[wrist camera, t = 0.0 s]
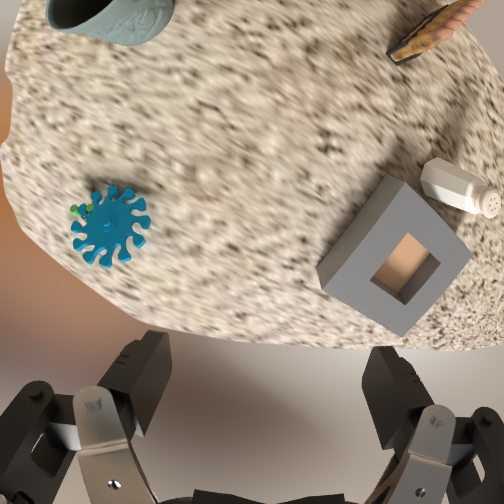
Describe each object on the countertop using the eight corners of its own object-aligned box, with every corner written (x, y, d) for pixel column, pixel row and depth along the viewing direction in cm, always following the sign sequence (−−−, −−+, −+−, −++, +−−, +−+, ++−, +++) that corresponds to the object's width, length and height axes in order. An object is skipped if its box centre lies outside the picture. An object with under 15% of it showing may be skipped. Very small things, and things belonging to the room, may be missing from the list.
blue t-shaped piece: (165, 202, 29) (116, 281, 26) (171, 224, 35) (131, 292, 31) (95, 168, 29) (49, 235, 26) (108, 192, 35) (69, 252, 31)
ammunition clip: (428, 14, 18) (482, -14, 7) (439, 25, 19) (495, 1, 8) (385, 54, 22) (439, 24, 11) (396, 66, 22) (455, 43, 11)
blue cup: (140, -22, 18) (93, -61, 8) (199, 0, 21) (164, -52, 10) (92, 38, 22) (29, 20, 11) (145, 66, 24) (83, 43, 13)
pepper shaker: (459, 178, 27) (515, 203, 17) (435, 208, 29) (488, 243, 19) (436, 147, 26) (495, 162, 16) (411, 179, 28) (465, 205, 18)
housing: (386, 173, 28) (405, 182, 23) (453, 238, 30) (472, 254, 26) (315, 267, 33) (322, 289, 29) (390, 314, 35) (401, 337, 31)
